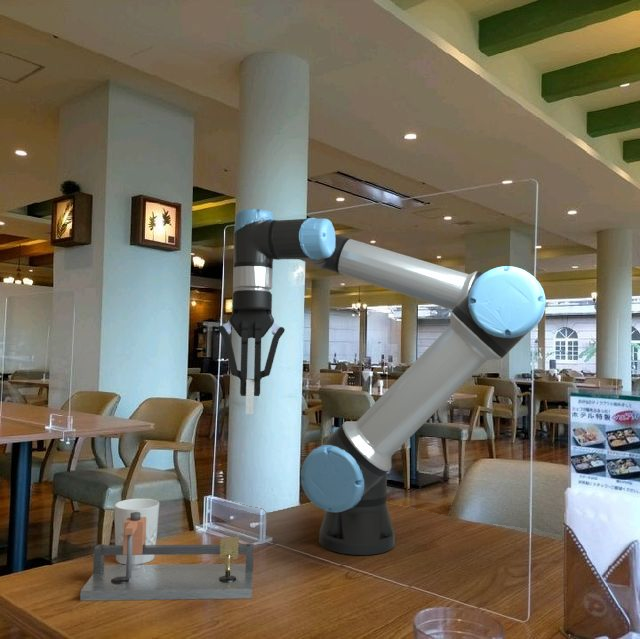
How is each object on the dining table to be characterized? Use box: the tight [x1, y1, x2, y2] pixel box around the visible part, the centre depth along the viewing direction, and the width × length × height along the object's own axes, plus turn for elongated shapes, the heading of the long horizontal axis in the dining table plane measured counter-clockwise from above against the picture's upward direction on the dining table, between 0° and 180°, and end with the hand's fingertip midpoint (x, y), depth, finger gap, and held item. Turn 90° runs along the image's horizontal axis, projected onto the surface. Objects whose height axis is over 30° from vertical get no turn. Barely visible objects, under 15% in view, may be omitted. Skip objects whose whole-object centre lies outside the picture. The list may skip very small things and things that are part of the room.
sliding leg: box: [123, 512, 146, 579], centre depth 102 cm, size 3×7×9 cm, turn 5°
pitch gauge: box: [79, 536, 255, 602], centre depth 102 cm, size 26×11×7 cm, turn 95°
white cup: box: [114, 497, 160, 565], centre depth 114 cm, size 8×8×10 cm
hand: (249, 413), depth 120 cm, fingers closed
